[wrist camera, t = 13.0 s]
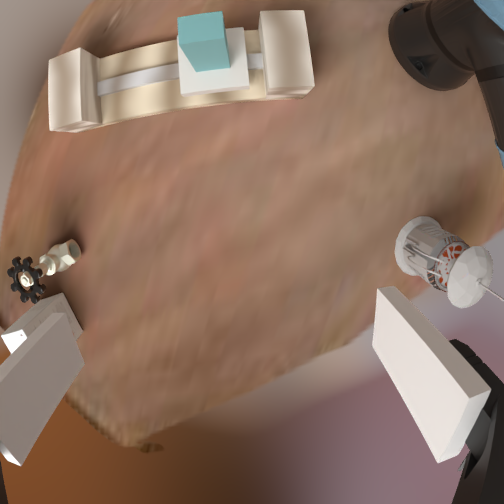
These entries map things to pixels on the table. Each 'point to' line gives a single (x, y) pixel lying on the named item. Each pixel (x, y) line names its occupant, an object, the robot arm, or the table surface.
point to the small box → (39, 320)
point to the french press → (444, 261)
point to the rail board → (174, 77)
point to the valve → (42, 269)
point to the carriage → (210, 55)
